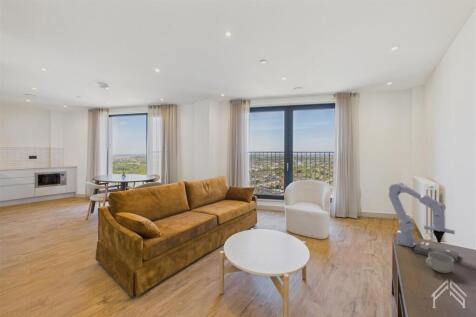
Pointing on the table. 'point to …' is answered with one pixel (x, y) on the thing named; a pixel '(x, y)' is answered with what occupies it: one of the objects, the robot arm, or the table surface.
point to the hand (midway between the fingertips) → (439, 242)
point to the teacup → (440, 262)
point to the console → (438, 250)
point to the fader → (425, 245)
